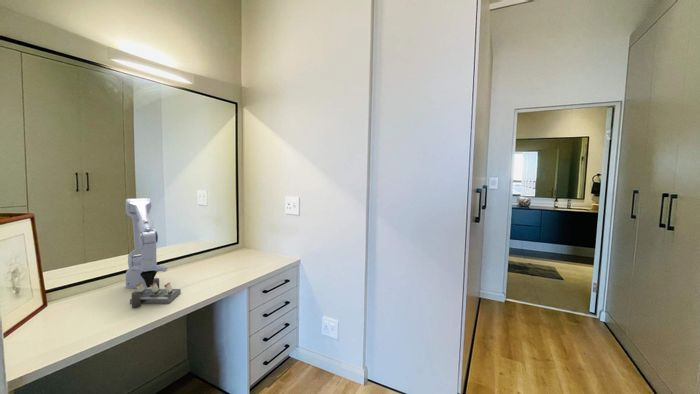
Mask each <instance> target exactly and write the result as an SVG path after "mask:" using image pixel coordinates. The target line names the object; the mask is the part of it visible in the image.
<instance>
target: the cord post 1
mask: <svg viewBox="0 0 700 394" xmlns="http://www.w3.org/2000/svg"><path fill="white" fill-rule="evenodd" d="M131 298H132V304H131V308H132V309H136V308H139V307H141V305H142V304H140V292H139V291H138V290H137V291H133V292H131Z"/></svg>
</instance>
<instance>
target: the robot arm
mask: <svg viewBox="0 0 700 394" xmlns="http://www.w3.org/2000/svg"><path fill="white" fill-rule="evenodd" d="M124 203H125V214H126V216H128V217H130V218H131V222H132V231H133V233H132V234H133V245H134V246H133V247H134V249H133V250H131V252H129V253H128V255H127V266H128V269H127V270H126V272H125V286H124V289H137V287H136V285H137V284H139V283H141V282H142V284H143V286H144V288H145V289H147V288H151V287H150V285H151V284H153V280H154V278H156V275H157V273H158V272H162V273H165V272H167V271H168V266H167V265H166V266H165V265H158V263H157V261H158V260H157V259H158V258H157V244H158V241H159V234H158V231H157V230H156V229H155V228H154V226H153V225H154V224H153V221H152V220H151V219H149V214H150V213H151V212H150V211H151V209H152V200H151V199H150V198H149V197H147V198H142V197H141V198H140V197H139V198H126V199H125V202H124Z"/></svg>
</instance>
